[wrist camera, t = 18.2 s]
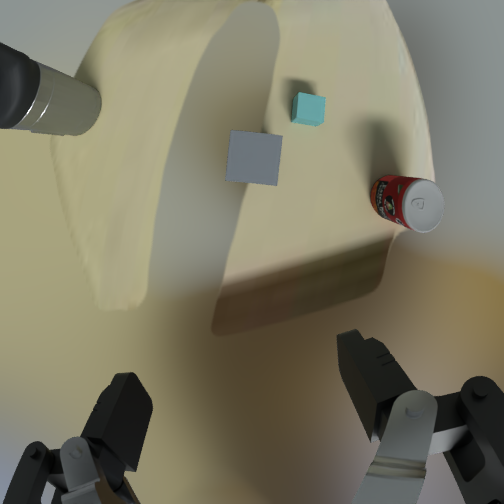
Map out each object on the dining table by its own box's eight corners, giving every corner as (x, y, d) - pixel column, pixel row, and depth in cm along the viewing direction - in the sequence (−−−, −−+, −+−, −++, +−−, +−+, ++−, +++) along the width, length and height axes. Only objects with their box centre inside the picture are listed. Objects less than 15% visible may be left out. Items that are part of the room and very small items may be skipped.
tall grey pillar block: (267, 182, 41) (276, 185, 31) (228, 178, 40) (225, 180, 31) (272, 144, 39) (282, 135, 29) (232, 139, 38) (230, 129, 29)
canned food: (366, 177, 41) (401, 181, 30) (403, 172, 41) (443, 176, 30) (371, 222, 43) (405, 238, 33) (407, 214, 43) (445, 228, 33)
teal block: (316, 126, 38) (323, 122, 35) (291, 122, 38) (296, 117, 34) (317, 103, 37) (325, 97, 33) (293, 98, 37) (298, 92, 33)
